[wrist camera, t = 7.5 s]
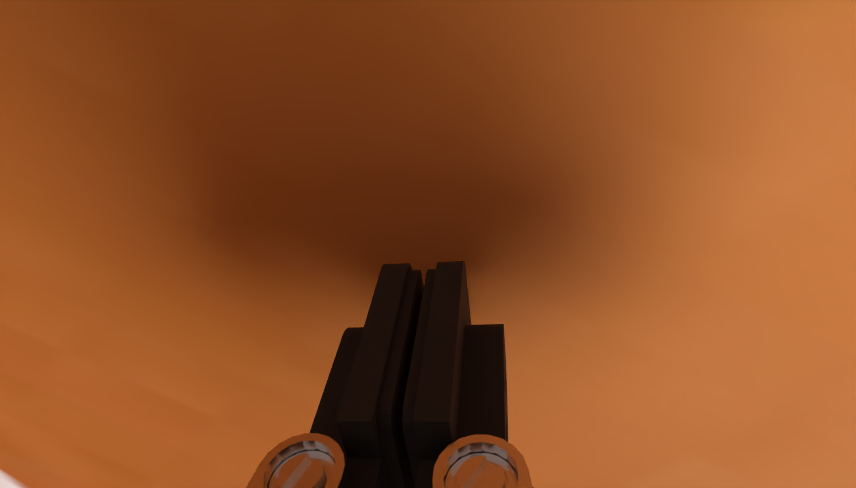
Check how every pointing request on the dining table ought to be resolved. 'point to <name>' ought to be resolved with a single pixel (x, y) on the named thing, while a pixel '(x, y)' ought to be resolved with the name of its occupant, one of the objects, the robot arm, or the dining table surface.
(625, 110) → the dining table surface
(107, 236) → the dining table surface
